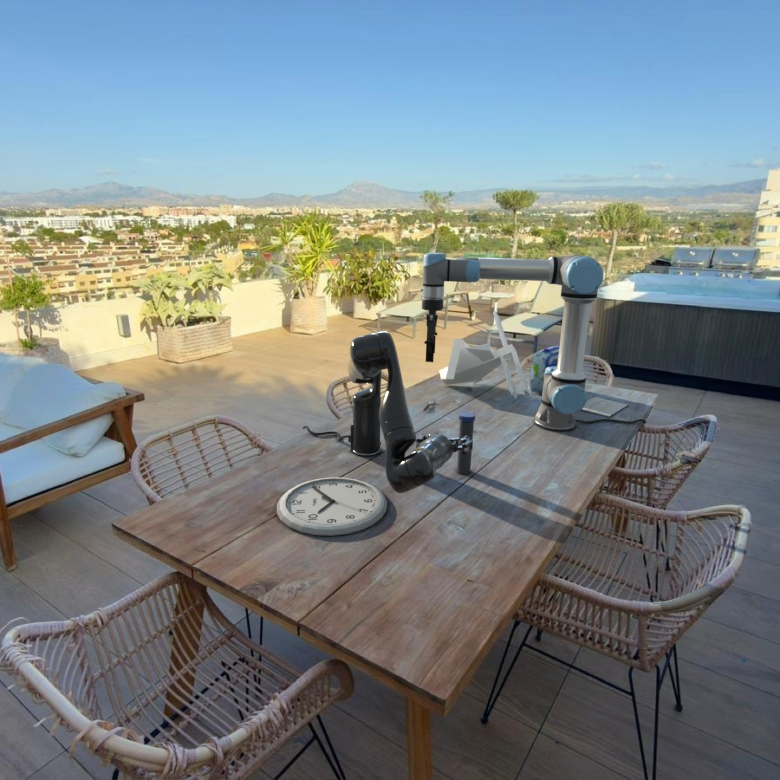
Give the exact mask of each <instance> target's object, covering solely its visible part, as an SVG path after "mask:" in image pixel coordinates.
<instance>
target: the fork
mask: <svg viewBox="0 0 780 780" xmlns="http://www.w3.org/2000/svg"><path fill="white" fill-rule="evenodd" d="M436 400H437V397H436V396H432V395H431V396H430V399H429V401H428V404H426V405H425V407H424V409H423V411H422V412H424V411H426V410H428V408H429V407H430V406H431V405H433V404H435V403H436Z"/></svg>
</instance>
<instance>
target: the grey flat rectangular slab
mask: <svg viewBox="0 0 780 780" xmlns="http://www.w3.org/2000/svg"><path fill="white" fill-rule="evenodd" d="M628 406H629V404H627V403H623V402H618V401H614V400H609V399H605V398H601V397H596V396H593V397H592V398H590V399H587V401H586V404H585V406H584V407H583V408H582V409H581V410H580V411H584V412H587V413H593V414H596V415H600V416H604V417H608V418H609V417H611V416H613V415H614V414H616V413H617V412H619V411H621V410H623V409H624V408H626V407H628Z"/></svg>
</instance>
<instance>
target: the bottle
mask: <svg viewBox="0 0 780 780" xmlns="http://www.w3.org/2000/svg"><path fill="white" fill-rule="evenodd" d="M474 422H475V420H474V421H473V422H463V421H460V420H459V430H458V438H459V439H462V438H463V437H464V436H468V437H469V438H470V439H471V440H473V441H474V439H473V438H474V426H475V425H474ZM460 446H462V442H461V443H460ZM472 451H473V449H472V450H471V451H470V452H469V453H468V454H465V455H464V454H462V451H457V463H456V473H458V474H460V475H469V474H471V469H472V468H471V466H472Z"/></svg>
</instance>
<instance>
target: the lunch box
mask: <svg viewBox="0 0 780 780" xmlns="http://www.w3.org/2000/svg"><path fill="white" fill-rule="evenodd" d="M559 346H560V345H553V346H549V347H547V348H543V349H541V350H538V351H537V352H535V353H534V355H533V357H532V359H531V366H530V379H529V391H531V392H532V393H537V394H542V392H543V382H544V373H545V369H546V368H547V367H553V366H557V364H558V355H559Z"/></svg>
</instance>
